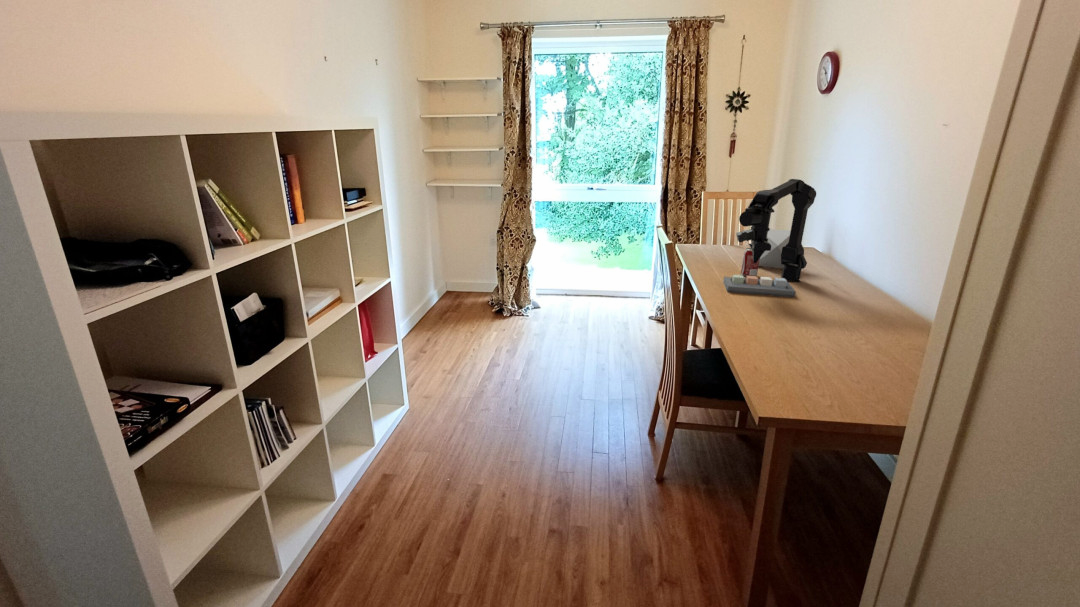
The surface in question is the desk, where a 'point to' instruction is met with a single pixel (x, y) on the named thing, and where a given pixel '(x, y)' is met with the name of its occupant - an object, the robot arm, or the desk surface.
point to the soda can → (749, 264)
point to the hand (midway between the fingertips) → (754, 262)
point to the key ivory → (766, 281)
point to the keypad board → (758, 288)
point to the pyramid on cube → (775, 248)
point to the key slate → (780, 282)
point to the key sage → (738, 279)
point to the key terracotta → (752, 280)
